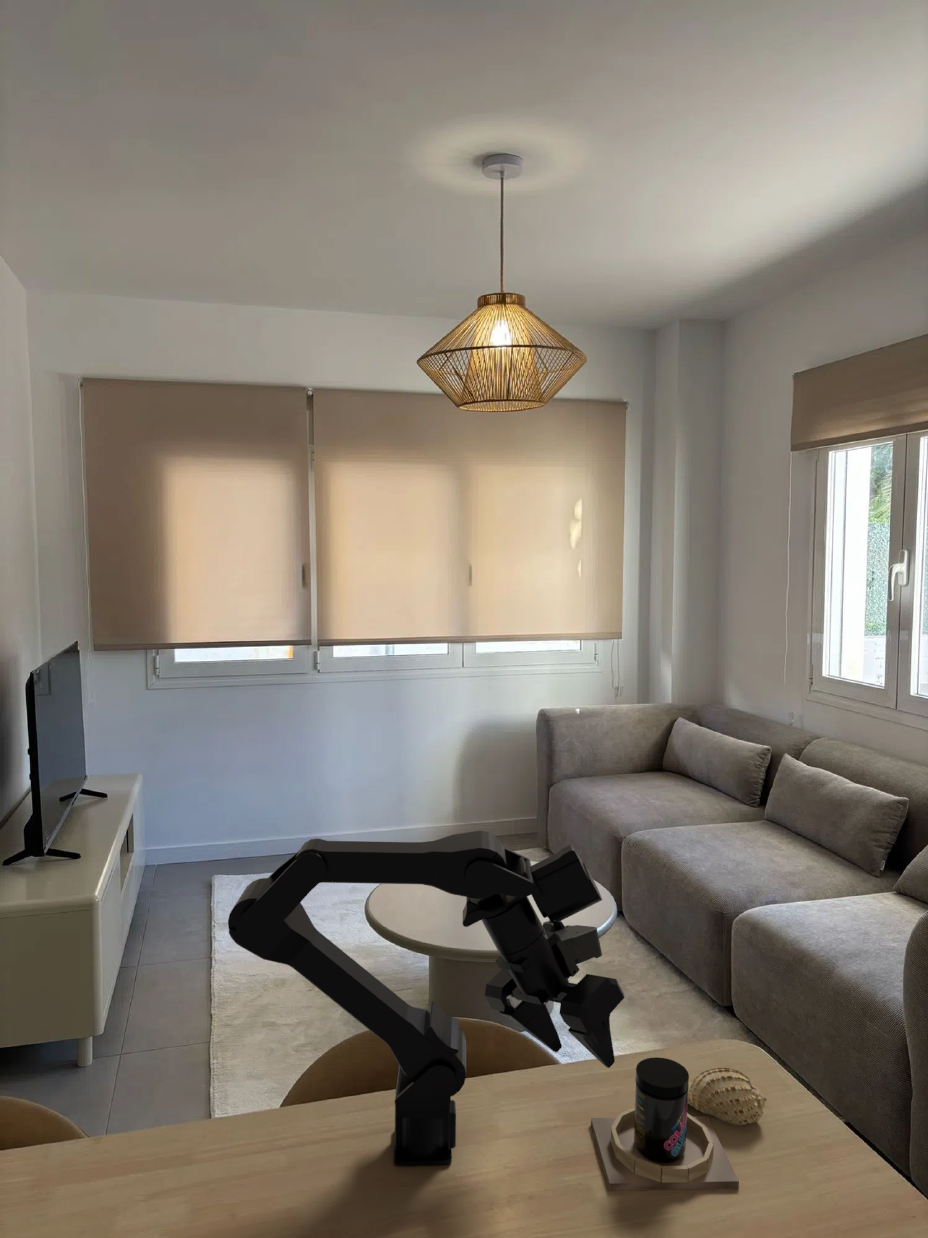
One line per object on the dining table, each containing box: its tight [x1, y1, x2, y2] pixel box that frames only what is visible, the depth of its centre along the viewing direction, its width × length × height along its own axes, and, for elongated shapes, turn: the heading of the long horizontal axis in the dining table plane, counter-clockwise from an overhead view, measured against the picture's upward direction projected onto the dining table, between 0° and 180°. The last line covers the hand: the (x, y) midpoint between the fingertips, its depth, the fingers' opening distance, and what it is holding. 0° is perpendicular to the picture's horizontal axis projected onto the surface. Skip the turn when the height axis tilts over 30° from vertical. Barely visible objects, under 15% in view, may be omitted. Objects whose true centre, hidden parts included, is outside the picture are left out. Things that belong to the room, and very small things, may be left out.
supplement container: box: [634, 1056, 690, 1163], centre depth 102 cm, size 6×6×9 cm
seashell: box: [687, 1067, 767, 1126], centre depth 111 cm, size 8×6×10 cm
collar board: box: [590, 1106, 740, 1192], centre depth 103 cm, size 14×11×2 cm
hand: (583, 1057), depth 103 cm, fingers open, 9 cm apart
